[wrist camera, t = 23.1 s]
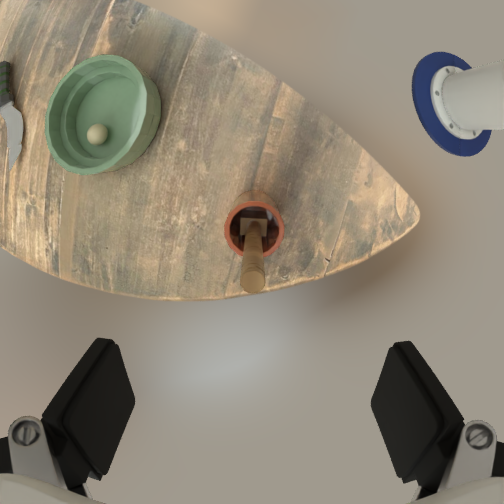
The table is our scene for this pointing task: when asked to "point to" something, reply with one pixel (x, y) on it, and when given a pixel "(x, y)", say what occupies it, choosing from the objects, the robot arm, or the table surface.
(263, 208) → the utensil cup
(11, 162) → the knife
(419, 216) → the table surface
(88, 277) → the table surface
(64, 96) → the bowl
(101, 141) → the bead
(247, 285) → the wooden masher
